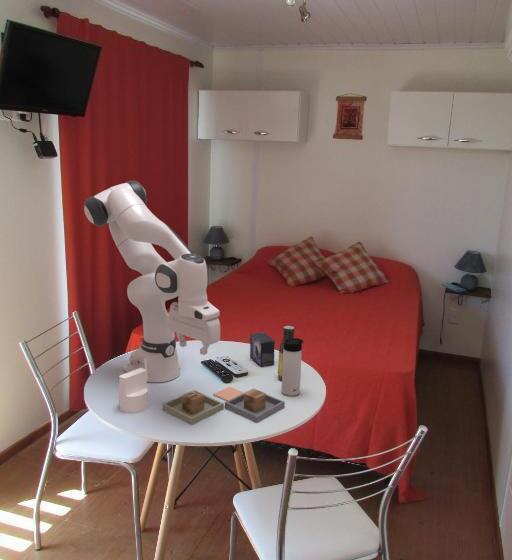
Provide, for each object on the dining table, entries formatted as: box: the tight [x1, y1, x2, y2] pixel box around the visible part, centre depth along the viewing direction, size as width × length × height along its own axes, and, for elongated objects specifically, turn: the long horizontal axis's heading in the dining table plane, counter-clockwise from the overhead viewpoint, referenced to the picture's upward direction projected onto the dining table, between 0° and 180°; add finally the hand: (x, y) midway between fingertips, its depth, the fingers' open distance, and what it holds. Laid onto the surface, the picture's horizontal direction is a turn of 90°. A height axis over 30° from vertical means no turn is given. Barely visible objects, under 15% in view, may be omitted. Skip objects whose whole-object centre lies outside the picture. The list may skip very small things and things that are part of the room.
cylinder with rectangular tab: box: [118, 368, 149, 414], centre depth 167 cm, size 9×9×12 cm
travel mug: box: [281, 337, 304, 398], centre depth 179 cm, size 6×7×20 cm
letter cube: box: [181, 390, 205, 415], centre depth 167 cm, size 5×5×5 cm
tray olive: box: [162, 390, 225, 426], centre depth 167 cm, size 14×14×2 cm
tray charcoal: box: [224, 388, 286, 424], centre depth 169 cm, size 14×14×2 cm
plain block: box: [244, 388, 267, 413], centre depth 169 cm, size 5×5×5 cm
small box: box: [249, 332, 276, 368], centre depth 207 cm, size 11×6×10 cm, turn 25°
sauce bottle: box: [277, 325, 295, 381], centre depth 191 cm, size 6×6×20 cm
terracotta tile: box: [212, 386, 245, 402], centre depth 178 cm, size 8×8×1 cm
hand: (193, 350), depth 163 cm, fingers open, 8 cm apart
